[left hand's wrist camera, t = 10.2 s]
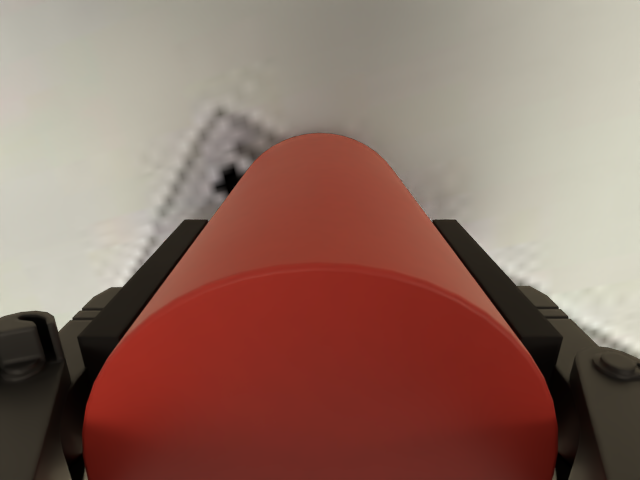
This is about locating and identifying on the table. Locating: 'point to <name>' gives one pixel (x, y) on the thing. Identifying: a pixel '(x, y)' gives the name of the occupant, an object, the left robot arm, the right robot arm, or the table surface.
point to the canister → (320, 344)
